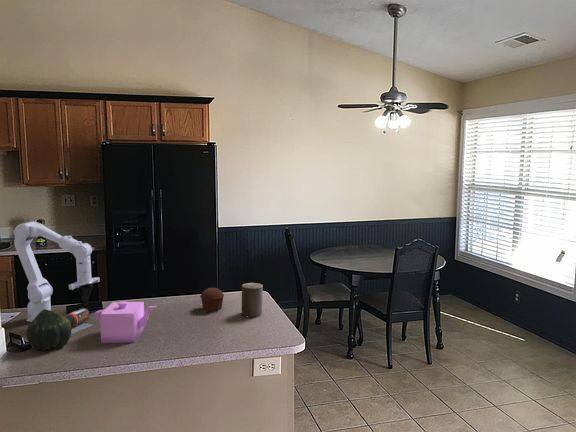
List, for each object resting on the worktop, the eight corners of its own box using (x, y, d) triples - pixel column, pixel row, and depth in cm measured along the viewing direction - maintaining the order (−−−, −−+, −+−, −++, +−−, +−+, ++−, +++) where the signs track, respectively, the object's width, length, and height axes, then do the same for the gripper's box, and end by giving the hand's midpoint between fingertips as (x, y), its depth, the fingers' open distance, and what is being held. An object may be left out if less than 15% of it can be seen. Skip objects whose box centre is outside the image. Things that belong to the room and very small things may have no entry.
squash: (65, 340, 164) (67, 302, 172) (19, 346, 160) (23, 307, 168) (73, 353, 176) (74, 317, 184) (30, 359, 172) (33, 322, 180)
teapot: (153, 342, 177) (152, 307, 175) (88, 343, 176) (86, 308, 174) (161, 327, 192) (160, 296, 190) (101, 329, 191) (100, 297, 189)
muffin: (205, 304, 223) (204, 284, 222) (226, 305, 222) (226, 285, 221) (197, 312, 212) (196, 291, 211) (219, 313, 210) (219, 292, 209)
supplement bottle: (91, 320, 198) (72, 330, 188) (80, 320, 200) (60, 329, 189) (89, 307, 198) (70, 316, 187) (78, 307, 199) (59, 315, 189)
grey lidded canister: (243, 318, 204) (243, 286, 202) (240, 311, 213) (240, 280, 211) (264, 316, 206) (264, 285, 204) (260, 310, 215) (260, 279, 214)
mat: (36, 331, 188) (36, 330, 188) (67, 320, 201) (67, 319, 201) (62, 337, 181) (62, 336, 181) (93, 325, 194) (93, 324, 194)
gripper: (76, 276, 190) (77, 307, 191) (103, 268, 203) (105, 298, 204) (64, 274, 193) (66, 305, 194) (92, 267, 206) (94, 296, 207)
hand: (85, 301), depth 199 cm, fingers closed
